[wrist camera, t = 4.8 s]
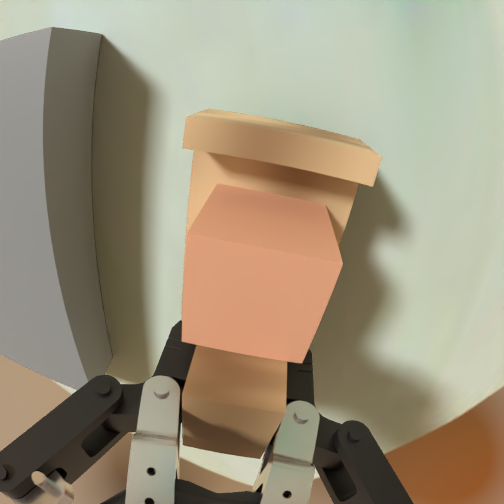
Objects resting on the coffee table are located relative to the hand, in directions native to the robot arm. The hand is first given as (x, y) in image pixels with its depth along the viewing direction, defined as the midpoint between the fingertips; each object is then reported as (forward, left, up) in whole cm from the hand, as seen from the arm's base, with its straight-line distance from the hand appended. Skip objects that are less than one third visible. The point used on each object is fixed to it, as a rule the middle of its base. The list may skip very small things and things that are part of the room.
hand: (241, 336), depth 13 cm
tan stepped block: (0, 0, -3) cm, 3 cm away
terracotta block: (0, -4, -1) cm, 4 cm away
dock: (+15, -1, -4) cm, 16 cm away
